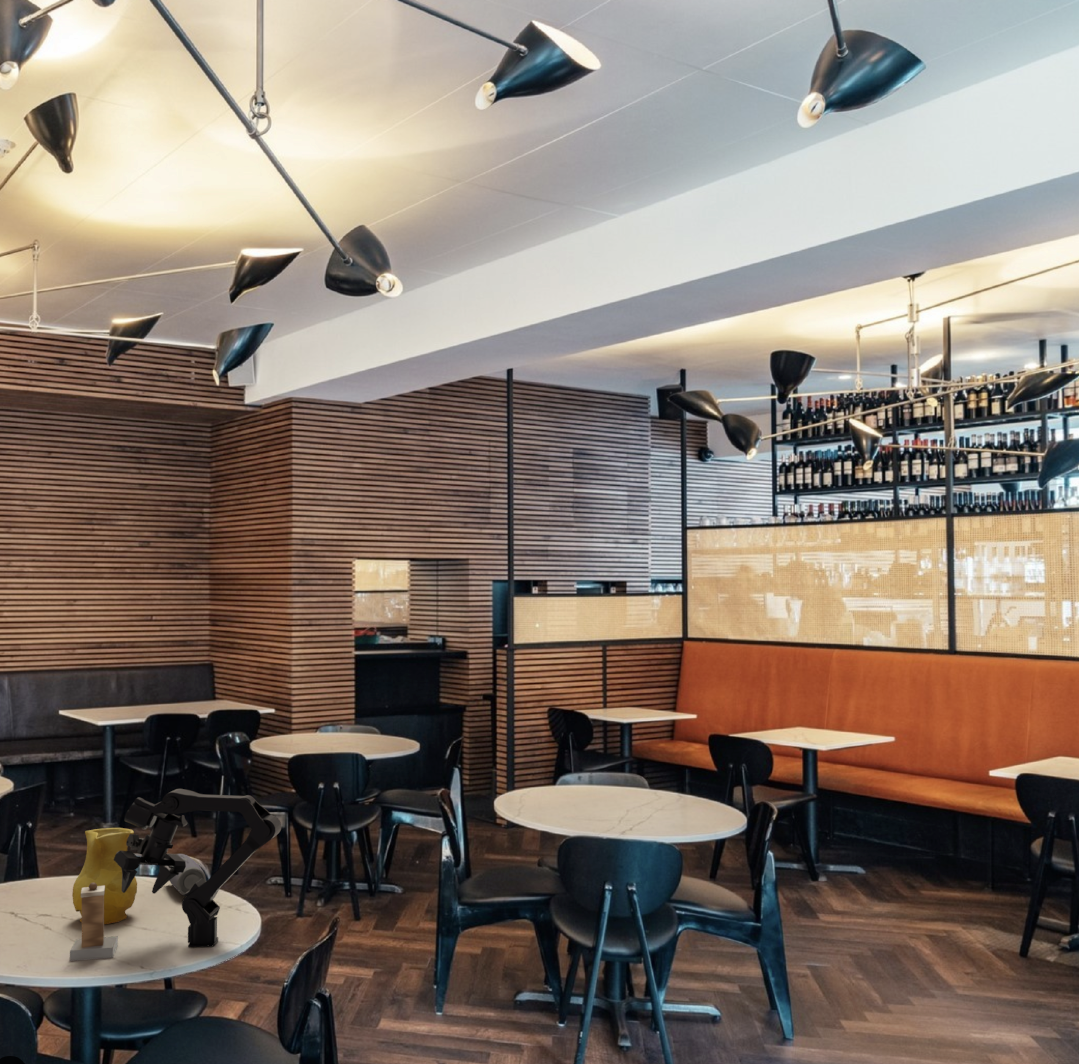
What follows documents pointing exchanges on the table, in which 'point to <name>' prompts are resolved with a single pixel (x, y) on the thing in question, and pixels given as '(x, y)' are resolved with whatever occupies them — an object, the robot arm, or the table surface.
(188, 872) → the bluetooth speaker
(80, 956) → the stone block
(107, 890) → the pitcher
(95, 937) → the box
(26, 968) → the table surface
